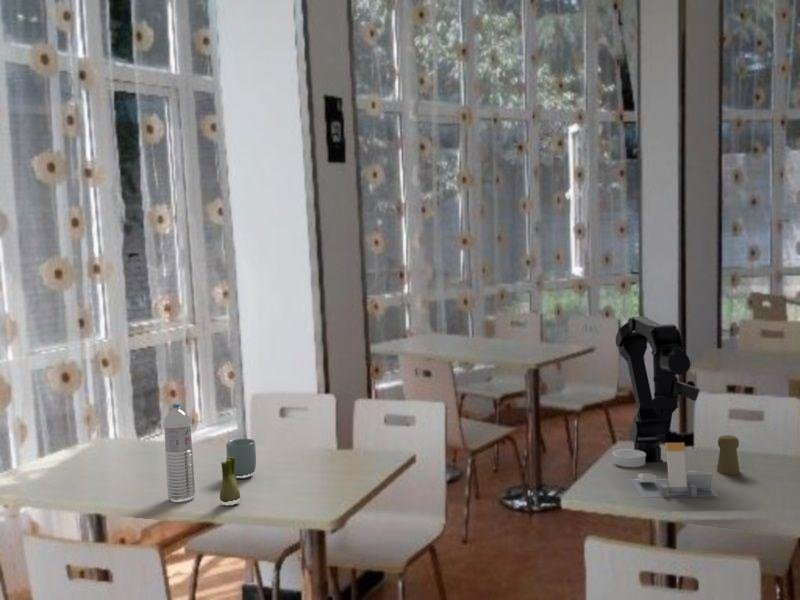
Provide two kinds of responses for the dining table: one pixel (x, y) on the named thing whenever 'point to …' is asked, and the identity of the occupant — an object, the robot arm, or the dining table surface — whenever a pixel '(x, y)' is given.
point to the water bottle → (179, 454)
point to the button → (691, 471)
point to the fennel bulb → (229, 481)
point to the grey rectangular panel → (699, 479)
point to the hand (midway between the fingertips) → (667, 432)
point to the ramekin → (629, 458)
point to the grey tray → (662, 489)
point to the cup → (242, 455)
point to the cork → (728, 455)
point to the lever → (676, 468)
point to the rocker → (647, 477)
